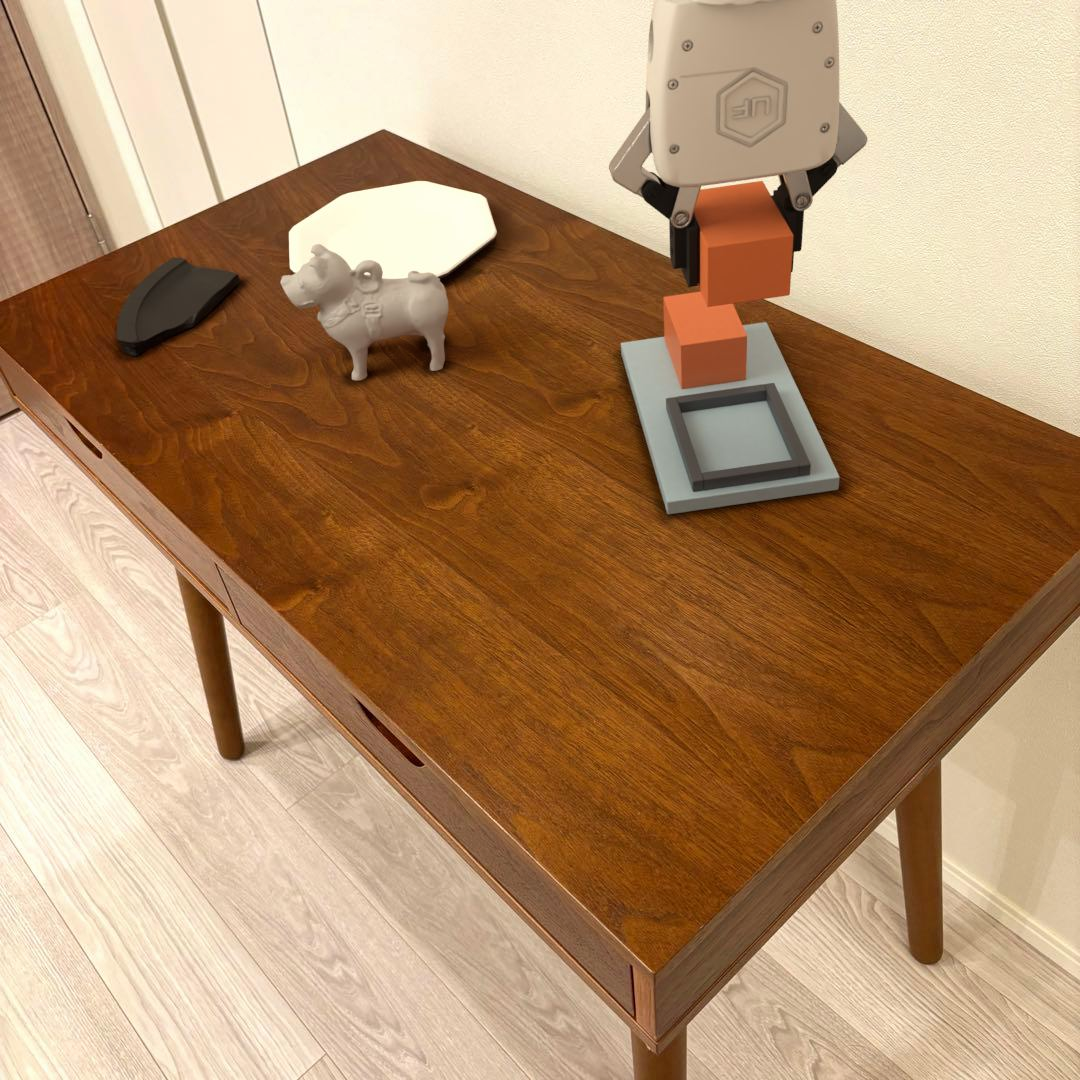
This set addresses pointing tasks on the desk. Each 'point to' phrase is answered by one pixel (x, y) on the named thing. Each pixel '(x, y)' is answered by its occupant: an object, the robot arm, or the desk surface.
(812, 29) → the robot arm
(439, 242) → the plate
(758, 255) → the orange rectangular block
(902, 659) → the desk surface
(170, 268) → the fan shaped piece
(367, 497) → the desk surface
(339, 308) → the dog figurine
